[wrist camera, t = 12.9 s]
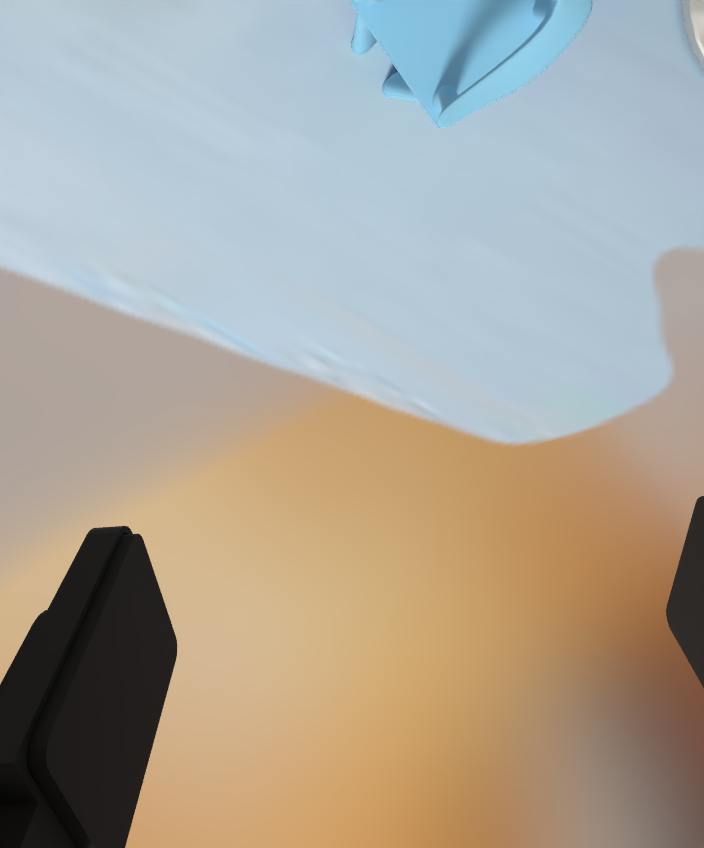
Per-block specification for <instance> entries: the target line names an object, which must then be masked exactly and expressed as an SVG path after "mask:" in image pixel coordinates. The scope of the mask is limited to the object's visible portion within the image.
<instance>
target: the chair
mask: <svg viewBox="0 0 704 848" xmlns="http://www.w3.org/2000/svg"><path fill="white" fill-rule="evenodd" d="M349 1H350V3H351V4H352V6H353V7H354V9H355V10H356V12H357V18H356V25H355V32H354V37H353V39H352V41H351V48H352V51H353V52H354V53H355V54H359V55H361V54H364V53H366V52H367V51H368V50H370V49H371V48H372V47H373V46H374V44H375V43H376V42H378V43H379V45H380V46H381V47H382V49H383V50H384V52H385V53H386V55H387V56H388V58H389V59H390V60H391V62H392V63H393V65H394V66H395V68H396V69H397V72H396V73H394V74H393V75H391V76H390V77H389V78H388V79H387V80H386V81H385V82H384V84H383V88H382V91H383V94H384V95H385V96H386V97H388V98H400V99H406V100H412V101H417V102H419V103H420V104H421V105H422V107H423V108H424V110H425V111H426V113H427V114H428V116H429V117H430V118H431V120H432V121H433V123H434V124H435V126H436V127H437V128H438V129H439V128H440V127H443V128H446V127H449V126H451V125H453V124H454V123H456V122H458V121H459V120H461V119H462V118H464V117H466V116H467V115H469V114H471V113H473V112H475V111H477V110H479V109H481V108H483V107H485V106H487V105H489V104H491V103H493V102H495V101H497V100H499V99H501V98H503V97H505V96H506V95H508V94H510V93H512V92H514V91H516V90H517V89H519V88H520V87H522V86H524V85H525V84H527V83H529V82H530V81H531V80H532V79H534V78H535V77H536V76H538V75H539V74H540V73H541V72H543V71H544V70H545V69H546V68H547V67H548V66H549V65H550V64H551V63H552V62H554V61H555V60H556V59H557V57H558V56H559V55H560V54H561V53H562V52H563V51H564V50H565V49H566V48H567V47H568V45H569V44H570V43H571V42H572V41H573V39H574V38H575V37H576V36H577V34H578V33H579V32H580V30H581V29H582V27H583V26H584V24H585V23H586V21H587V19H588V17H589V15H590V12H591V9H592V0H349Z"/></svg>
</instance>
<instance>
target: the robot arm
mask: <svg viewBox="0 0 704 848" xmlns="http://www.w3.org/2000/svg"><path fill="white" fill-rule="evenodd" d="M681 2H682V10H683V19H684V27H685V30H686V33H687V36H688V39H689V42H690V45H691V48H692V51H693V53H694V55H695V56H696V58H697V60H698V61H699V63H700V64H701V66H702V68H703V69H704V0H681ZM666 615H667V621H668V624H669V627H670V629H671V631H672V633H673V634H674V636H675V638H676V640H677V642H678V643H679V645H680V647H681V649H682V650H683V652H684V654H685V656H686V657H687V659H688V661H689V663H690V664H691V666H692V668H693V670H694V671H695V673H696V675H697V677H698V679H699V680H700V682H701V684H702V686H703V687H704V496H702V497H699V498H698V499H697V502H696V504H695V508H694V511H693V515H692V518H691V522H690V525H689V529H688V533H687V537H686V540H685V543H684V547H683V550H682V554H681V557H680V561H679V565H678V568H677V572H676V575H675V579H674V583H673V586H672V590H671V594H670V597H669V600H668V604H667V609H666ZM176 656H177V640H176V636H175V633H174V630H173V627H172V624H171V621H170V618H169V615H168V612H167V609H166V606H165V603H164V600H163V597H162V594H161V592H160V588H159V585H158V582H157V579H156V576H155V574H154V570H153V567H152V564H151V562H150V559H149V556H148V553H147V550H146V547H145V544H144V541H143V538H142V536H141V535H140V534H132V531H131V529H130V528H129V527H127V526H119V527H103V528H93V529H91V530H90V531H89V533H88V534H87V536H86V538H85V540H84V541H83V543H82V545H81V547H80V549H79V551H78V553H77V555H76V557H75V559H74V561H73V562H72V564H71V566H70V568H69V570H68V572H67V574H66V576H65V578H64V579H63V581H62V583H61V585H60V587H59V589H58V591H57V593H56V595H55V597H54V599H53V600H52V603H51V604H50V606H49V608H48V610H45V611H44V612H43V613H41V614H40V615H39V616H38V617H37V619H36V620H35V622H34V623H33V625H32V626H31V628H30V630H29V632H28V634H27V636H26V638H25V640H24V641H23V644H22V645H21V647H20V649H19V651H18V653H17V654H16V656H15V658H14V660H13V662H12V664H11V666H10V667H9V669H8V671H7V673H6V675H5V677H4V679H3V681H2V682H1V685H0V848H125V846H126V842H127V838H128V834H129V831H130V827H131V823H132V820H133V815H134V812H135V809H136V805H137V801H138V798H139V793H140V790H141V786H142V783H143V779H144V775H145V772H146V768H147V764H148V761H149V757H150V753H151V750H152V746H153V742H154V739H155V734H156V731H157V728H158V724H159V720H160V716H161V713H162V709H163V705H164V702H165V698H166V694H167V691H168V687H169V683H170V679H171V676H172V672H173V668H174V665H175V661H176Z"/></svg>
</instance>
